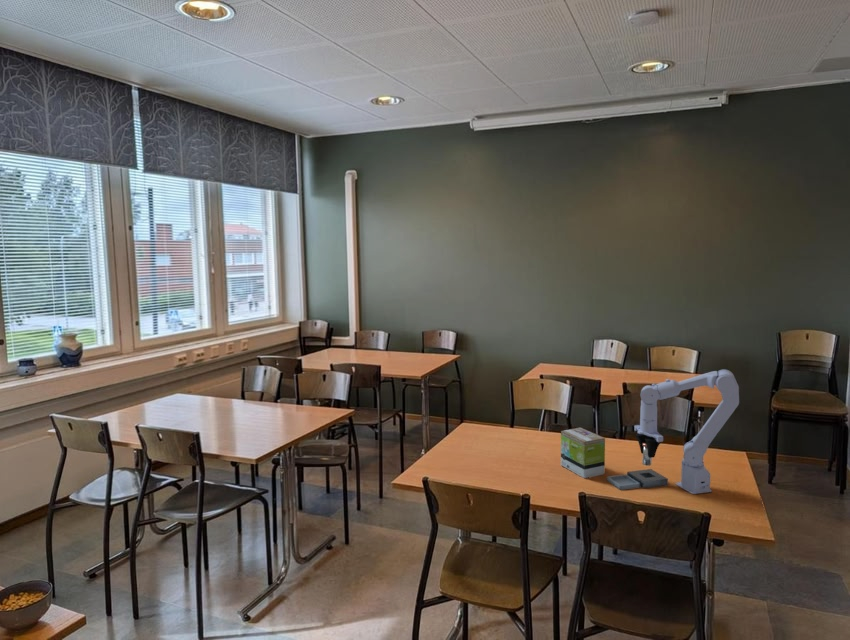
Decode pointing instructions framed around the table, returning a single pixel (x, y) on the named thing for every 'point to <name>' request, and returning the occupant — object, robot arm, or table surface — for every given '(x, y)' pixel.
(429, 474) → the table surface
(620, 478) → the tray
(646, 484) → the hitch block
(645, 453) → the pin
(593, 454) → the tea box
